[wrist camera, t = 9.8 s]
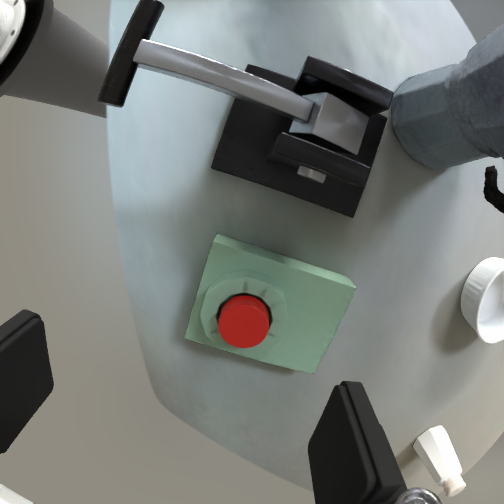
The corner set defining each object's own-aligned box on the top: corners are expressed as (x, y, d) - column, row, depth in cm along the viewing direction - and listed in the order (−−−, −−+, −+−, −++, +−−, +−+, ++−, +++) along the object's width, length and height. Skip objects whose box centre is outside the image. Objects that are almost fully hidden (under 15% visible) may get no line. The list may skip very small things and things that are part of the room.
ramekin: (459, 339, 29) (478, 358, 25) (449, 273, 27) (473, 289, 23) (511, 304, 28) (532, 318, 24) (506, 239, 26) (531, 249, 22)
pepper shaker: (413, 454, 35) (437, 508, 24) (411, 436, 33) (438, 494, 23) (444, 438, 34) (472, 488, 23) (445, 419, 33) (477, 472, 22)
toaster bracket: (212, 168, 25) (177, 169, 13) (248, 68, 23) (242, -1, 11) (349, 216, 26) (413, 253, 14) (382, 119, 23) (461, 95, 12)
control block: (189, 323, 28) (179, 349, 24) (217, 233, 26) (209, 246, 22) (309, 358, 29) (316, 386, 25) (347, 276, 27) (363, 296, 23)
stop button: (214, 328, 24) (212, 340, 22) (228, 288, 23) (226, 298, 21) (258, 342, 24) (259, 354, 23) (274, 303, 23) (276, 313, 22)
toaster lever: (100, 104, 12) (92, 98, 10) (139, 9, 10) (140, -11, 8) (322, 174, 17) (348, 182, 15) (349, 94, 15) (377, 92, 13)
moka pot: (466, 64, 21) (616, 19, 2) (466, 213, 25) (633, 277, 6) (384, 39, 21) (524, -74, 2) (383, 204, 25) (576, 283, 6)
